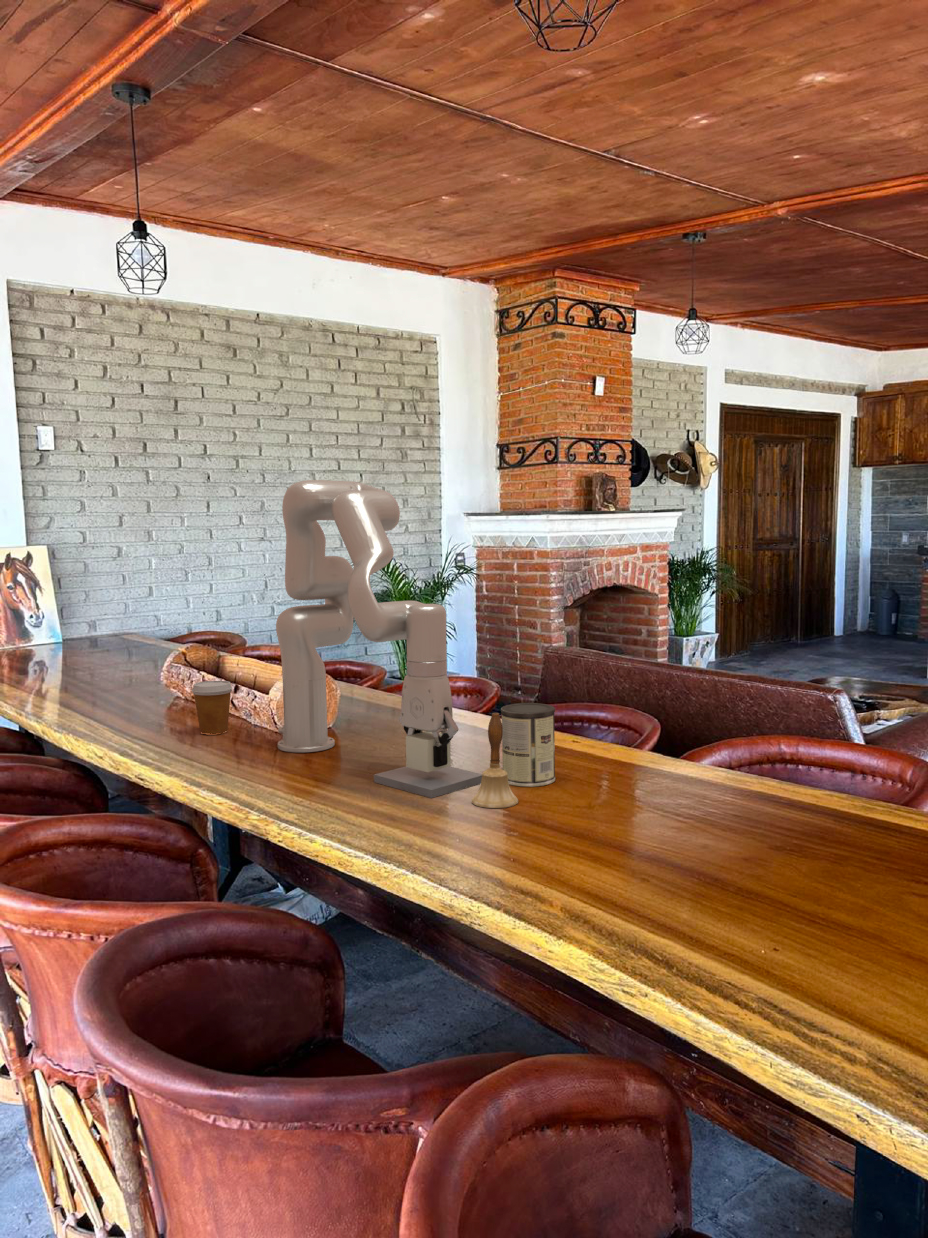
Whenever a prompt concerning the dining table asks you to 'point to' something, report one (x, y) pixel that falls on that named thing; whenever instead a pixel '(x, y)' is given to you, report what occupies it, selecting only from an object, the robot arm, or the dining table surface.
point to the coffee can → (528, 744)
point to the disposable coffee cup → (212, 705)
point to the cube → (423, 752)
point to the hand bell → (495, 774)
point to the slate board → (428, 780)
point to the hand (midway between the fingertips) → (428, 761)
